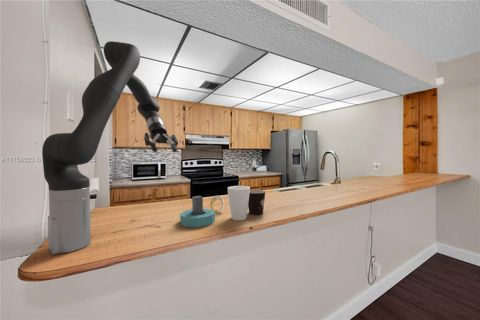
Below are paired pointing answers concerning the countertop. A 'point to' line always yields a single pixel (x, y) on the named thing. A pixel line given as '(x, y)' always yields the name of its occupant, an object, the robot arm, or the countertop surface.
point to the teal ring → (197, 218)
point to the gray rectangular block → (197, 205)
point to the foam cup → (238, 201)
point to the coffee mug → (256, 202)
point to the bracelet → (215, 200)
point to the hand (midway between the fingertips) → (165, 151)
